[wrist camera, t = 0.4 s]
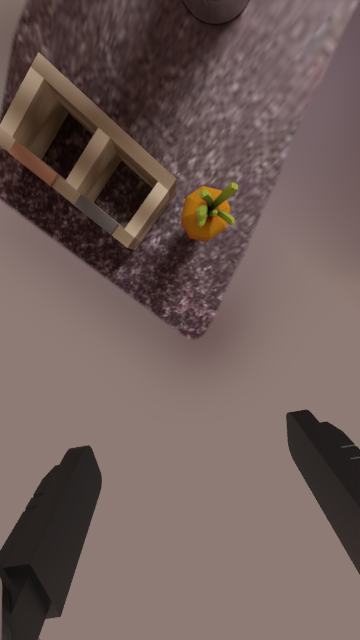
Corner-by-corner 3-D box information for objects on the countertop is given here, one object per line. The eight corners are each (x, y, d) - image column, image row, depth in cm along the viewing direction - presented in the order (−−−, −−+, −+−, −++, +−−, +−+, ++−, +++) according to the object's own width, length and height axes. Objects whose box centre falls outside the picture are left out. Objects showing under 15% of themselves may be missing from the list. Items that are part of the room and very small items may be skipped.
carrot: (210, 206, 31) (242, 158, 17) (215, 243, 32) (249, 228, 18) (175, 213, 31) (177, 170, 17) (182, 249, 32) (188, 239, 18)
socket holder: (64, 93, 27) (35, 47, 22) (176, 193, 31) (176, 177, 25) (25, 161, 29) (-12, 136, 23) (134, 250, 32) (126, 247, 27)
